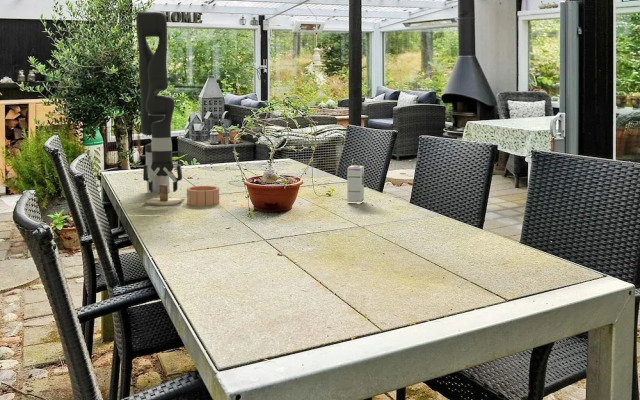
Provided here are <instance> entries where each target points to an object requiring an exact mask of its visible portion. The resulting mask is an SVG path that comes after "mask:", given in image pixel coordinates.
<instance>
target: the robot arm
mask: <svg viewBox="0 0 640 400" xmlns="http://www.w3.org/2000/svg"><path fill="white" fill-rule="evenodd" d="M135 18H136V19H135V23H136V26H135V27H136V34H137V35H136V36H137V43H138V58H139V61H138V64H139V66H138V69H139V70H138V71H139V75H138V76H139V88H140V90H139V91H140V130H141V133H142V134H143V136H151V142H150V143H147V144H145V148H144V149H145V164H144V165H143V168H142V169H143V175H142V176H143V177H142V179H143V181H144V182H145V181H146V193H147V194H160V187H159V185H162V184H166V185H168V193H170V192H171V191H170V180H172V190H173V191H172V192H173V193H176V191H177V190H178V186H179V185H178V183H179V182H180V181H181V180H183V172H182V165H181V163H179V164H174V162H173V142H172V134H171V133H172V129H171V126H172V119H173V115H174V111H175V105H176V104H175V100H174V98H173V97H172V96H170V95H159V94H160V93H161V92H163V91H166V90H167V89H168V87H169V84H168V83H169V82H168V81H169V80H168V71H167V69H168V67H167V58H168V57H167V56H168V55H167V53H168V20H167V16H166V13H164V12H163V11H139V12H137V13H136V17H135ZM148 37H149V38H151V37H152V38H156V37H157V38H158V44H157V46H156V49H155V51H154V52H153V51H152V49H151V47H150V46H149V43H148V41H147V38H148ZM173 169H175V170H174V171H176V172H177V173H176V174H177V177H176V175H175V174H174V173H173Z"/></svg>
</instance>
